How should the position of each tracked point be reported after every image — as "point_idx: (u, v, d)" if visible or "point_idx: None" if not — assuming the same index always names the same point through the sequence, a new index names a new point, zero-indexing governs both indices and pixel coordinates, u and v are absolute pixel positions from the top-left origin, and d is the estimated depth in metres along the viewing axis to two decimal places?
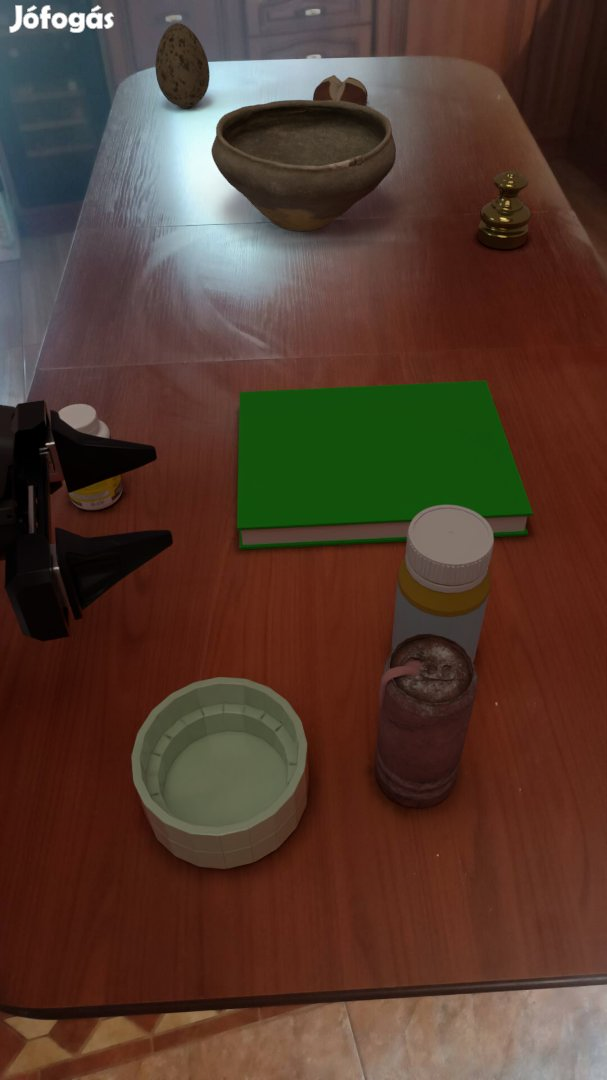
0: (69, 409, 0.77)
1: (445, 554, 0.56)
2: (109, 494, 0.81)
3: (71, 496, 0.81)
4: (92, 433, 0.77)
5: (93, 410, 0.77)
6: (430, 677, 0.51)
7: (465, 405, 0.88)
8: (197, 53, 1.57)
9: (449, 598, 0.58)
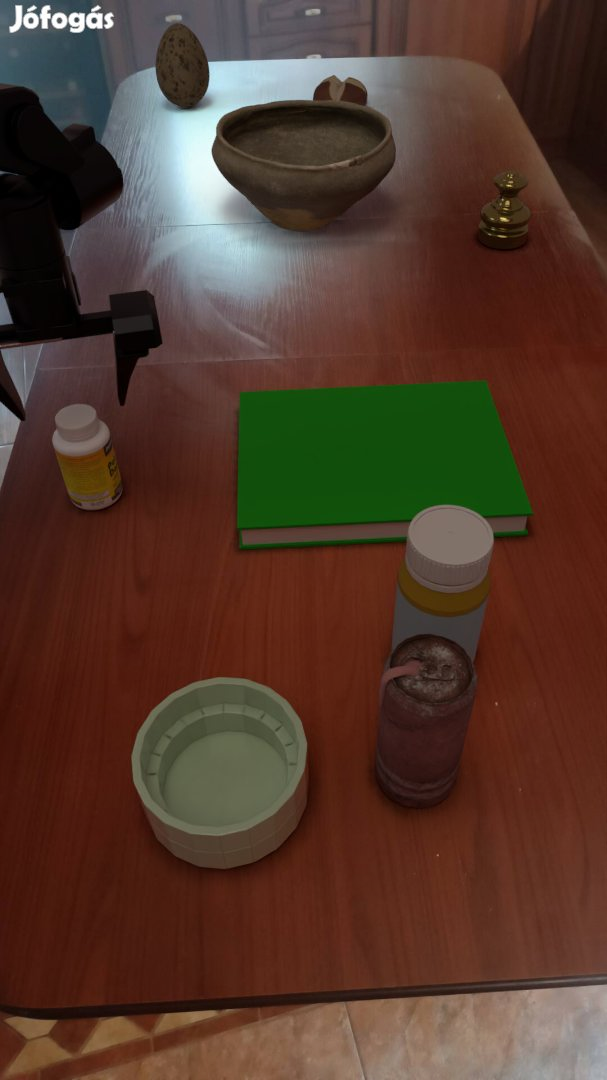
0: (69, 409, 0.77)
1: (445, 554, 0.56)
2: (109, 494, 0.81)
3: (71, 496, 0.81)
4: (92, 433, 0.77)
5: (93, 410, 0.77)
6: (430, 677, 0.51)
7: (465, 405, 0.88)
8: (197, 53, 1.57)
9: (449, 598, 0.58)
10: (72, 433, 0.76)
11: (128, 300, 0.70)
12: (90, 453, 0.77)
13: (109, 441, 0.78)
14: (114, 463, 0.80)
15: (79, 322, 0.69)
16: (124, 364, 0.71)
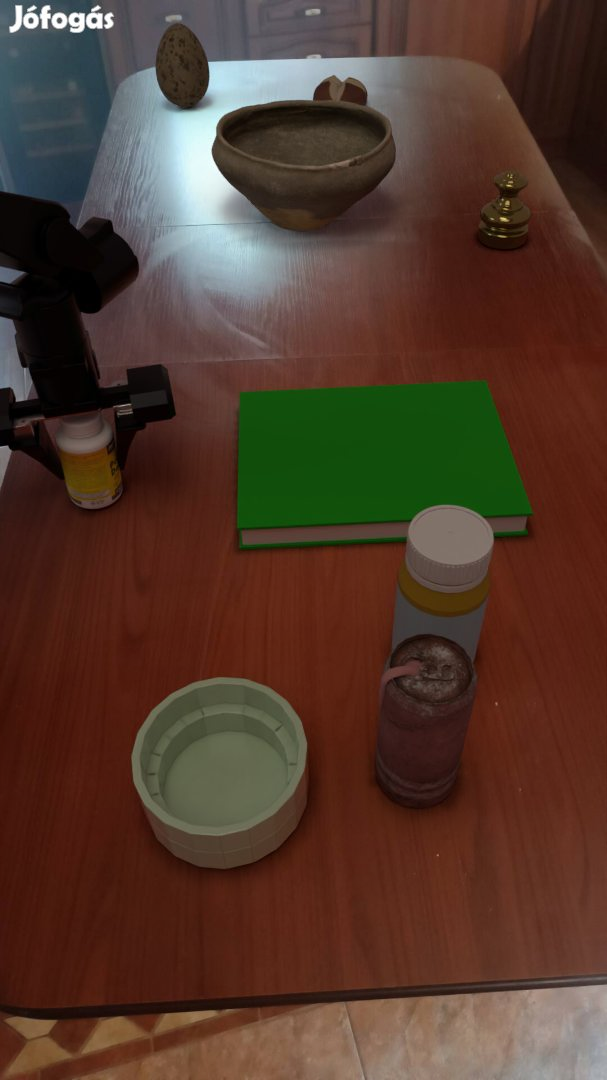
0: None
1: (445, 554, 0.56)
2: (110, 493, 0.81)
3: (71, 494, 0.81)
4: (96, 431, 0.77)
5: None
6: (430, 677, 0.51)
7: (465, 405, 0.88)
8: (197, 53, 1.57)
9: (449, 598, 0.58)
10: (76, 430, 0.76)
11: (143, 375, 0.76)
12: (93, 451, 0.77)
13: (112, 440, 0.78)
14: (116, 462, 0.80)
15: (99, 397, 0.75)
16: (123, 436, 0.76)
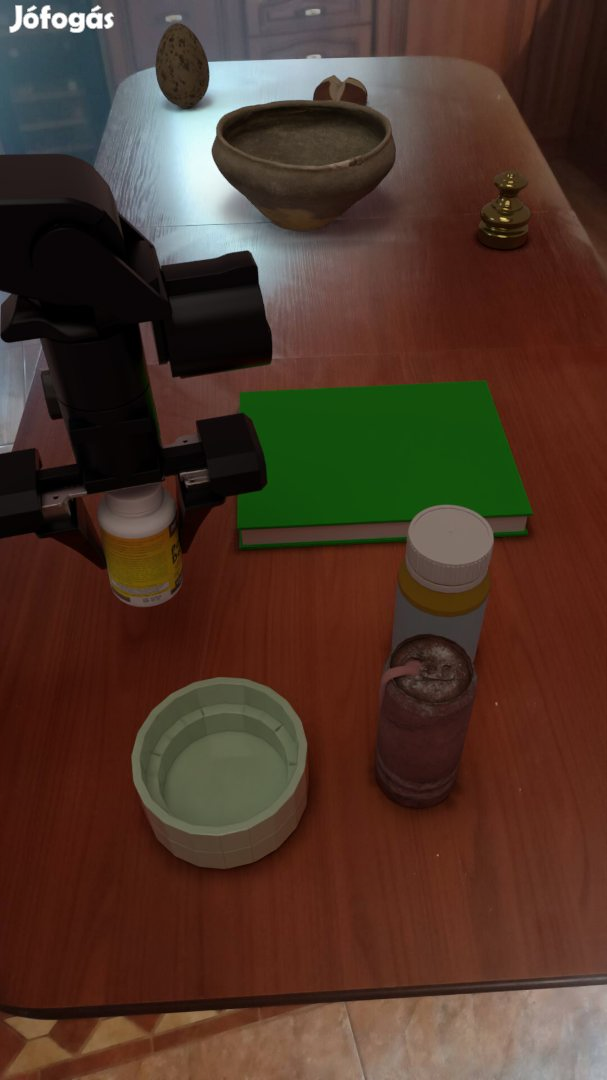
0: None
1: (445, 554, 0.56)
2: (169, 587, 0.60)
3: (116, 588, 0.59)
4: (155, 507, 0.55)
5: None
6: (430, 677, 0.51)
7: (465, 405, 0.88)
8: (197, 53, 1.57)
9: (449, 598, 0.58)
10: (129, 507, 0.54)
11: (222, 429, 0.55)
12: (151, 534, 0.55)
13: (175, 517, 0.57)
14: (178, 545, 0.59)
15: (162, 462, 0.53)
16: (194, 514, 0.55)
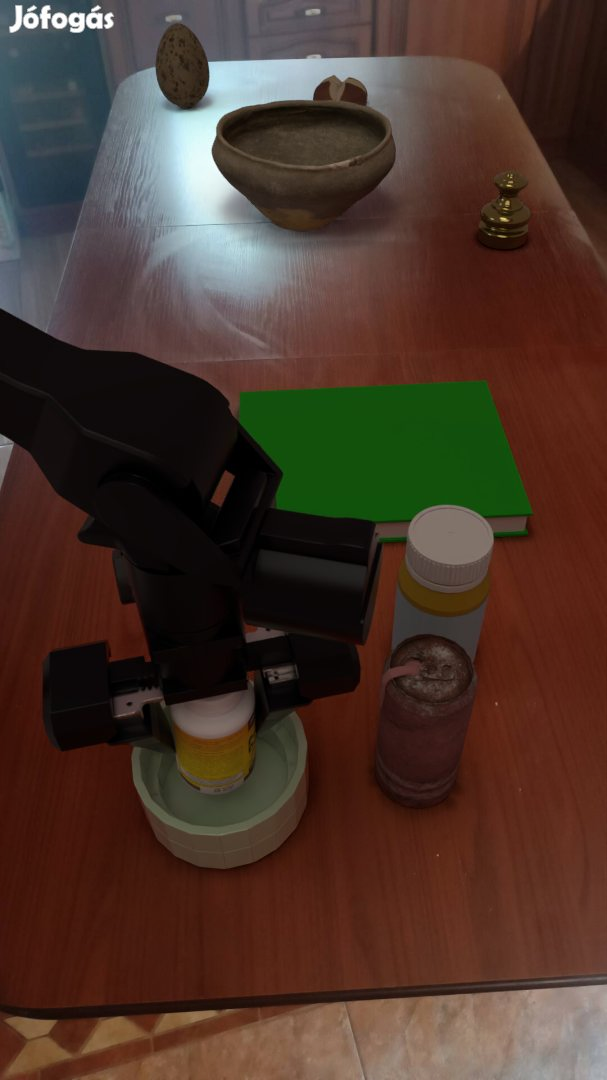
0: None
1: (445, 554, 0.56)
2: (243, 775, 0.54)
3: (184, 775, 0.54)
4: (235, 704, 0.50)
5: None
6: (430, 677, 0.51)
7: (465, 405, 0.88)
8: (197, 53, 1.57)
9: (449, 598, 0.58)
10: (208, 708, 0.49)
11: None
12: (230, 734, 0.50)
13: (254, 708, 0.52)
14: (254, 732, 0.53)
15: (246, 663, 0.48)
16: (278, 714, 0.50)
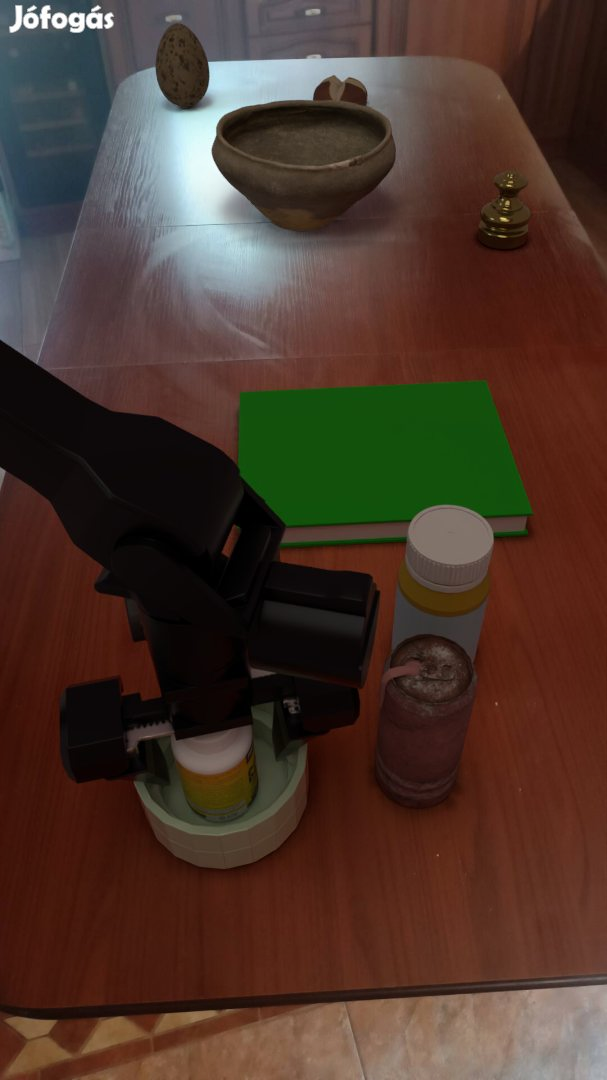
0: None
1: (445, 554, 0.56)
2: (245, 802, 0.57)
3: (191, 804, 0.57)
4: (232, 740, 0.53)
5: None
6: (430, 677, 0.51)
7: (465, 405, 0.88)
8: (197, 53, 1.57)
9: (449, 598, 0.58)
10: (205, 747, 0.51)
11: None
12: (229, 769, 0.53)
13: (252, 742, 0.54)
14: (254, 763, 0.56)
15: (252, 698, 0.51)
16: (298, 742, 0.52)
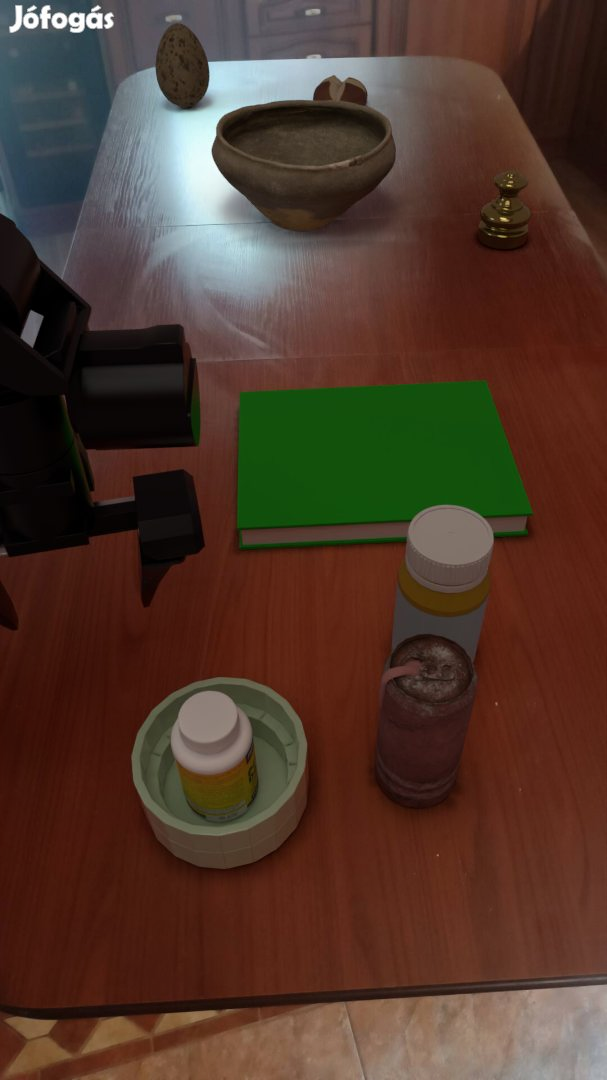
0: (198, 703, 0.53)
1: (445, 554, 0.56)
2: (245, 803, 0.57)
3: (191, 804, 0.57)
4: (232, 740, 0.53)
5: (232, 705, 0.53)
6: (430, 677, 0.51)
7: (465, 405, 0.88)
8: (197, 53, 1.57)
9: (449, 598, 0.58)
10: (205, 747, 0.51)
11: (158, 487, 0.52)
12: (229, 769, 0.53)
13: (252, 742, 0.54)
14: (254, 763, 0.56)
15: (92, 522, 0.50)
16: (152, 572, 0.52)
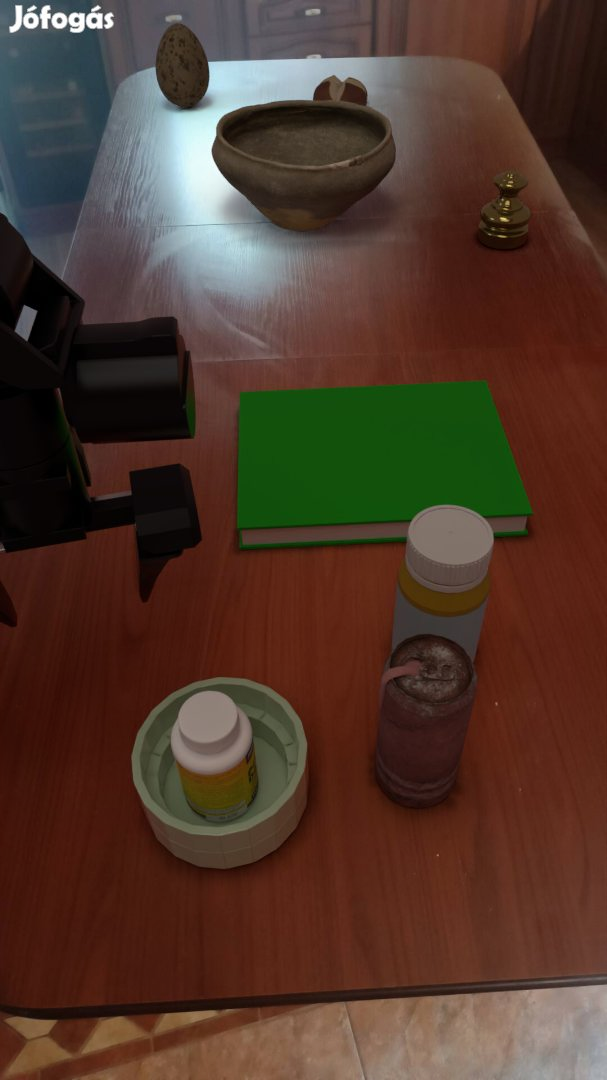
0: (198, 703, 0.53)
1: (445, 554, 0.56)
2: (245, 803, 0.57)
3: (191, 804, 0.57)
4: (232, 740, 0.53)
5: (232, 705, 0.53)
6: (430, 677, 0.51)
7: (465, 405, 0.88)
8: (197, 53, 1.57)
9: (449, 598, 0.58)
10: (205, 747, 0.51)
11: (155, 481, 0.52)
12: (229, 769, 0.53)
13: (252, 742, 0.54)
14: (254, 763, 0.56)
15: (89, 517, 0.50)
16: (150, 566, 0.52)
